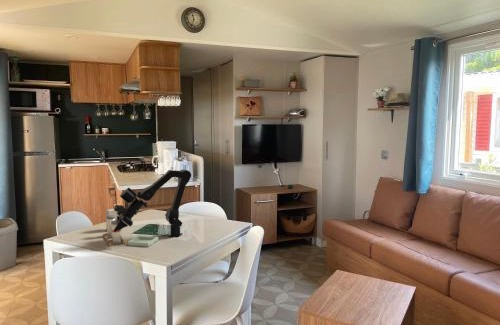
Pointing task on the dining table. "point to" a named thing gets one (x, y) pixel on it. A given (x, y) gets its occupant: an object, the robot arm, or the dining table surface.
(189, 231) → the dining table surface
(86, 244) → the dining table surface
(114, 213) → the supplement box
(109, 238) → the wooden fuse rack
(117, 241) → the ball
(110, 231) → the cylinder
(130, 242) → the tray
